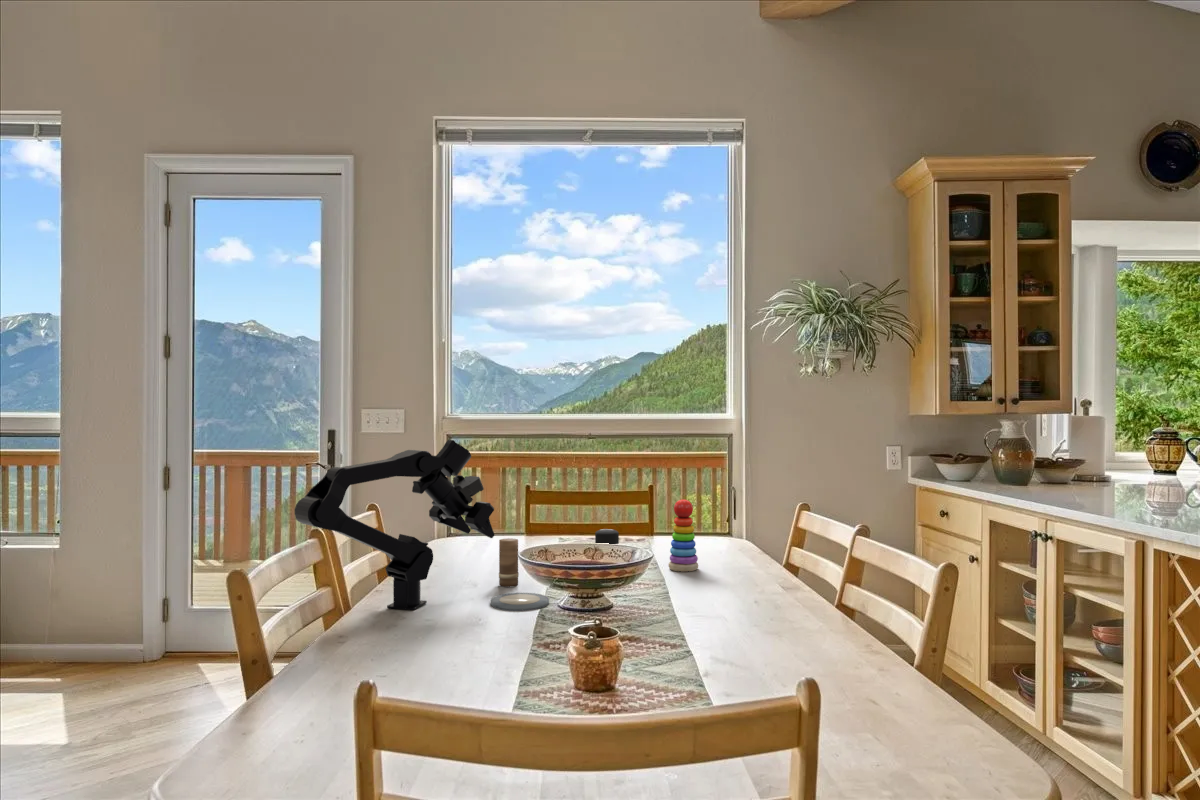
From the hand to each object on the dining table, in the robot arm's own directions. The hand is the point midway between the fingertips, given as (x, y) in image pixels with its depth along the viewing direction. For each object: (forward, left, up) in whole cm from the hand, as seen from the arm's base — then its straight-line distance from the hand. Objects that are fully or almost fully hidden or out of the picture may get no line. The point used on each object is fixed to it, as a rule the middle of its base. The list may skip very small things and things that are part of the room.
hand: (480, 534), depth 193 cm
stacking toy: (+37, -43, -14) cm, 58 cm away
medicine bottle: (+22, -25, -14) cm, 36 cm away
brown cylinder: (+7, -4, -13) cm, 16 cm away
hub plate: (-9, -13, -13) cm, 21 cm away
